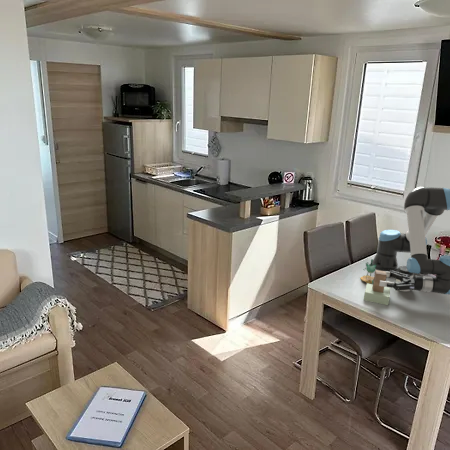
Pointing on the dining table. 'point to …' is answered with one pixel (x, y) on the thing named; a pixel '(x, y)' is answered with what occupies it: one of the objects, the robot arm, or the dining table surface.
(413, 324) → the dining table surface
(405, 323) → the dining table surface
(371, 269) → the green insect figurine
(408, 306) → the dining table surface
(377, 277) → the walnut block
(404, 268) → the jar
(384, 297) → the sage block
